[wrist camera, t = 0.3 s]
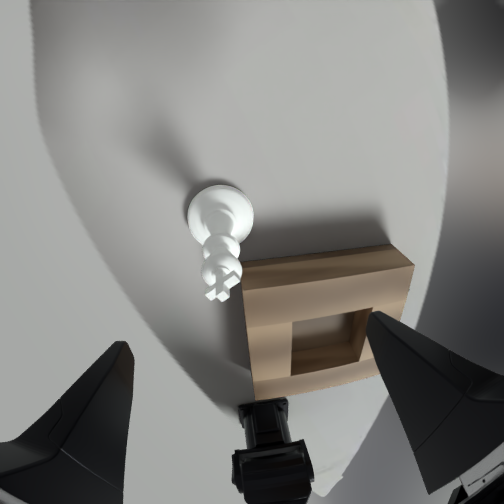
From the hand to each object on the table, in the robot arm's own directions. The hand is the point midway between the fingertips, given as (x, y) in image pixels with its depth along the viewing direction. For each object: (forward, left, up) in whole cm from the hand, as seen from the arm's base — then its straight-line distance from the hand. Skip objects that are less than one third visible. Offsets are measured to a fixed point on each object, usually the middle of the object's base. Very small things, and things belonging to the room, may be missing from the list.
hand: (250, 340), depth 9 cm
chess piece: (0, +1, -13) cm, 13 cm away
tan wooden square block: (-11, -7, -13) cm, 18 cm away
